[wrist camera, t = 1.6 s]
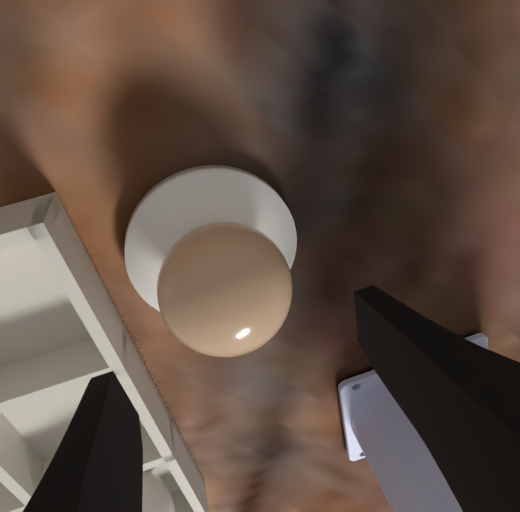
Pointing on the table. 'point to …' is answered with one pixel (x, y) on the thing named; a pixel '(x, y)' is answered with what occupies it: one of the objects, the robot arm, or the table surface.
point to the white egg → (156, 494)
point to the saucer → (200, 217)
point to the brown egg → (224, 289)
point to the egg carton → (68, 357)
